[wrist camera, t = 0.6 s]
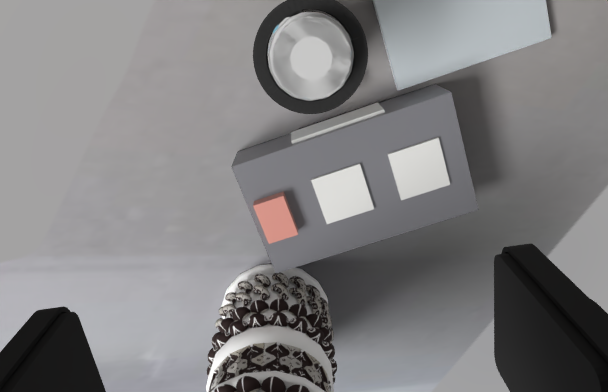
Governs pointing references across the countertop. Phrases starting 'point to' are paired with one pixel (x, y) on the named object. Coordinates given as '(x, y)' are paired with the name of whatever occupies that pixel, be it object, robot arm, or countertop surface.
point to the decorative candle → (273, 335)
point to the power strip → (357, 178)
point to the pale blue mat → (455, 33)
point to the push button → (310, 55)
